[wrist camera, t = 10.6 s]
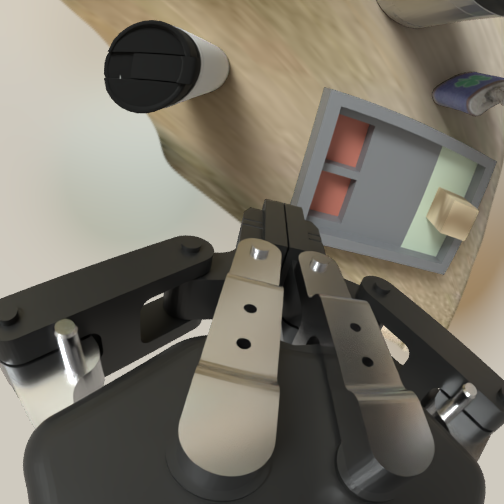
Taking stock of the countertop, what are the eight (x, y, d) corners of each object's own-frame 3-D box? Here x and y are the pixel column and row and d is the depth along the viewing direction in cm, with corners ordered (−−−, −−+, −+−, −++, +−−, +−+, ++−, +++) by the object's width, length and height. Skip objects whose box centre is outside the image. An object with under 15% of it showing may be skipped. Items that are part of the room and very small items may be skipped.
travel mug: (227, 97, 35) (187, 122, 18) (173, 89, 34) (90, 112, 17) (237, 47, 32) (206, 21, 15) (181, 41, 31) (102, 18, 14)
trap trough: (324, 87, 34) (331, 88, 30) (479, 151, 35) (496, 161, 32) (285, 220, 43) (287, 236, 39) (432, 258, 45) (443, 274, 41)
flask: (435, 107, 33) (481, 123, 24) (427, 87, 32) (473, 96, 23) (483, 86, 31) (534, 98, 21) (476, 67, 29) (527, 74, 20)
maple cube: (438, 186, 36) (454, 200, 32) (462, 196, 37) (479, 210, 33) (425, 216, 39) (440, 232, 35) (449, 225, 39) (464, 241, 35)
